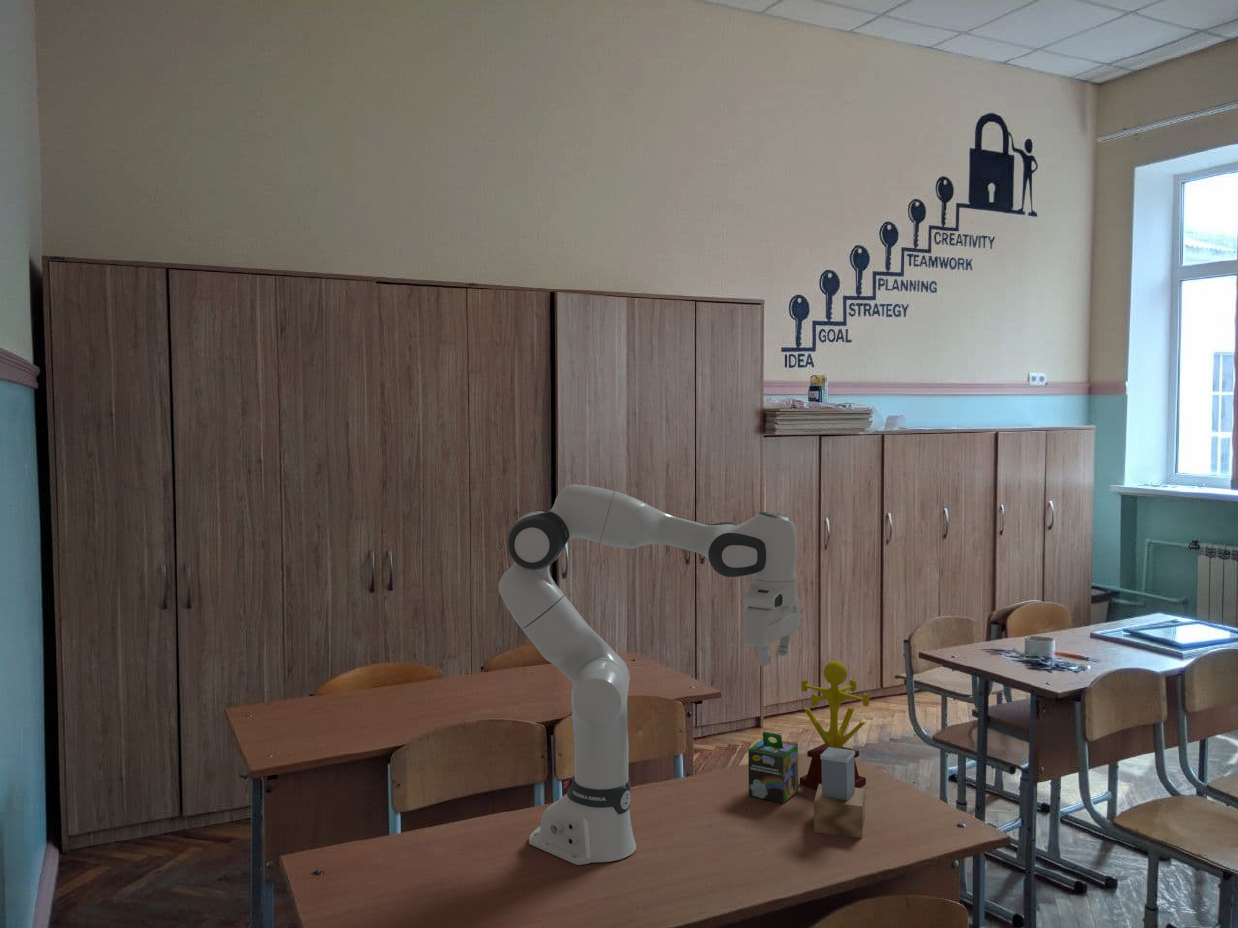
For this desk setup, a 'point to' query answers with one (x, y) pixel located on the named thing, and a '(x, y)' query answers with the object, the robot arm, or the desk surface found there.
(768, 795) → the chalk box
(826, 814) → the walnut box
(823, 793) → the lidded storage box
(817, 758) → the trophy
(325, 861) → the desk surface
